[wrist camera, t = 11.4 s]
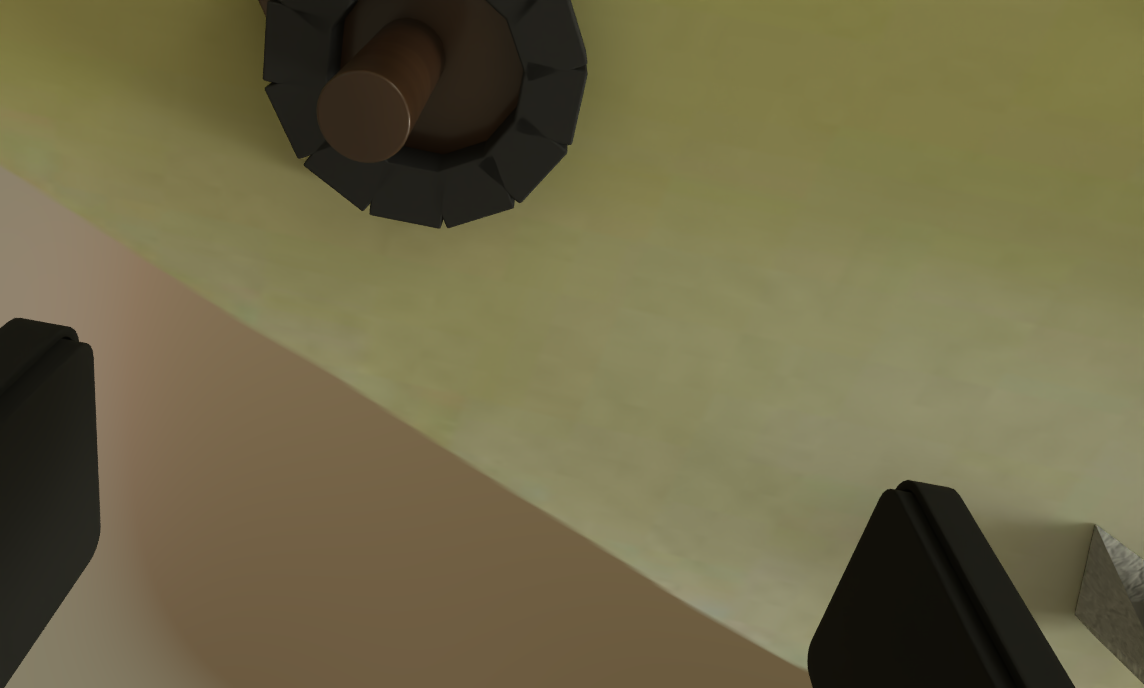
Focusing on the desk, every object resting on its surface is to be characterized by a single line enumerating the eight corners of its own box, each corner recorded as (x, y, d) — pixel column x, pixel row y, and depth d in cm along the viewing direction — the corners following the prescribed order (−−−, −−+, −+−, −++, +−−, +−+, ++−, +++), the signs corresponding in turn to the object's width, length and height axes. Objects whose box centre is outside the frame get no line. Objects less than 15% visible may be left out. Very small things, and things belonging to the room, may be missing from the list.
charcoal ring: (525, -151, 27) (522, -151, 26) (618, 157, 32) (621, 175, 30) (227, -42, 29) (205, -35, 27) (356, 238, 33) (345, 260, 31)
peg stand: (482, -115, 29) (452, -101, 21) (560, 124, 32) (560, 213, 24) (253, -32, 30) (142, 11, 22) (355, 190, 33) (290, 296, 25)
